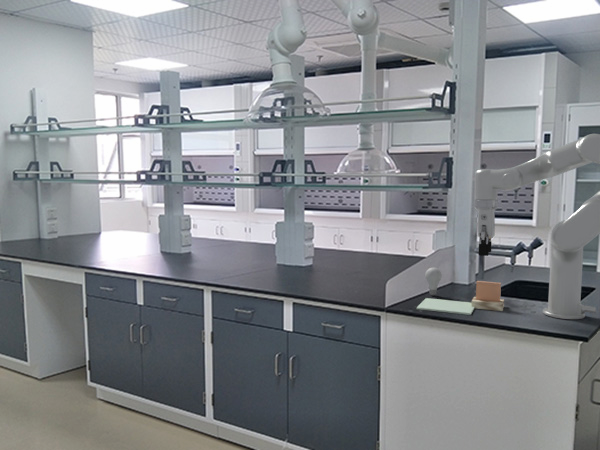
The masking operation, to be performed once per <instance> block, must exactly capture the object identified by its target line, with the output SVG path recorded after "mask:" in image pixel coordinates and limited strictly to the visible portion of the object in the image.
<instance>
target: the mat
mask: <svg viewBox="0 0 600 450" xmlns="http://www.w3.org/2000/svg"><path fill="white" fill-rule="evenodd" d="M475 309H476V308H475V307H474V306H471V302H469V301H459V300H449V299H440V298H438V299H437V298H430V297H429V298H428V297H425V299H424V300H422V301H421V303H420V304H418V305H417V306H416V310H420V311H421V310H422V311H428V312H429V311H431V312H439V313H449V314H457V315H458V314H459V315H468V316H471V315H472V313H473V311H474V310H475Z"/></svg>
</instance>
